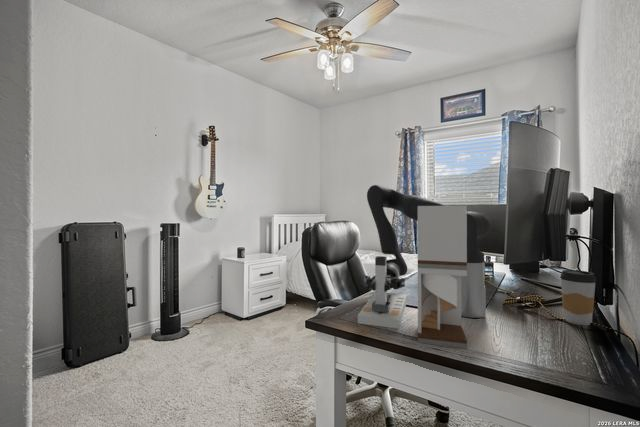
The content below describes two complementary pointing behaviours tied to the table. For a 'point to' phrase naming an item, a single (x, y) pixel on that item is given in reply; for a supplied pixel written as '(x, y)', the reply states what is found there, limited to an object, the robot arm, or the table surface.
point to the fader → (380, 285)
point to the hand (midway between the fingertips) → (379, 287)
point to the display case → (441, 274)
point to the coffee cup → (578, 296)
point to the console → (384, 318)
